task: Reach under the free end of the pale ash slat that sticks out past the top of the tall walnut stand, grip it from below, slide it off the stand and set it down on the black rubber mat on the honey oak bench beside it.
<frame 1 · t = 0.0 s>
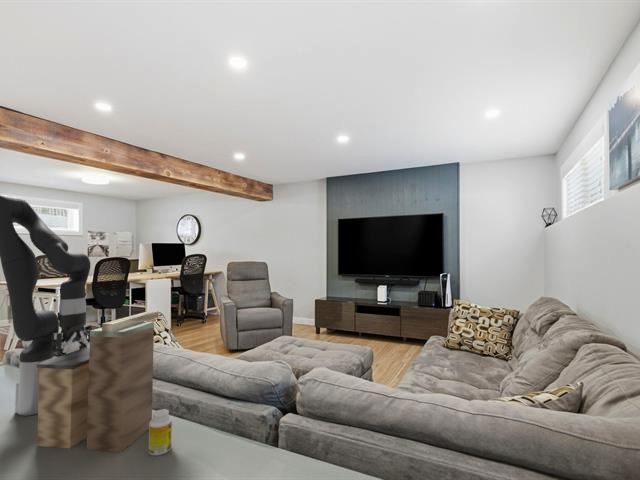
hand: (72, 360, 118), 17 cm above the table, tool pointing down, fingers open, 8 cm apart
slat: (132, 323, 107), point 32 cm above the table, touching walnut stand
supplement bottle: (160, 451, 95), on the table
walnut stand: (121, 437, 101), on the table
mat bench: (76, 432, 104), on the table
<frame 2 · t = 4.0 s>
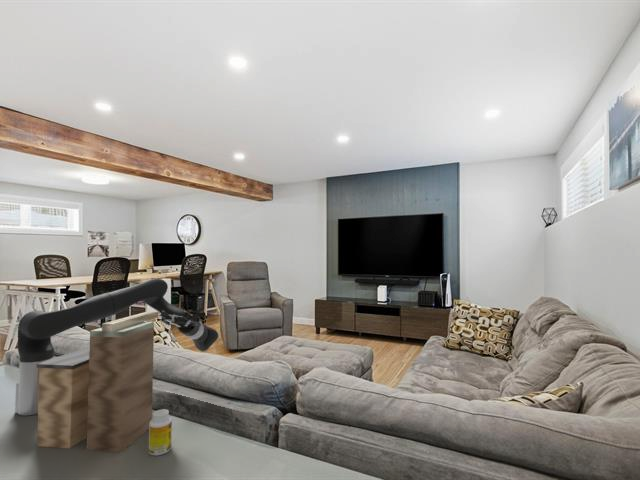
hand: (173, 313, 130), 31 cm above the table, tool pointing upward, fingers open, 8 cm apart
nothing on the table moved.
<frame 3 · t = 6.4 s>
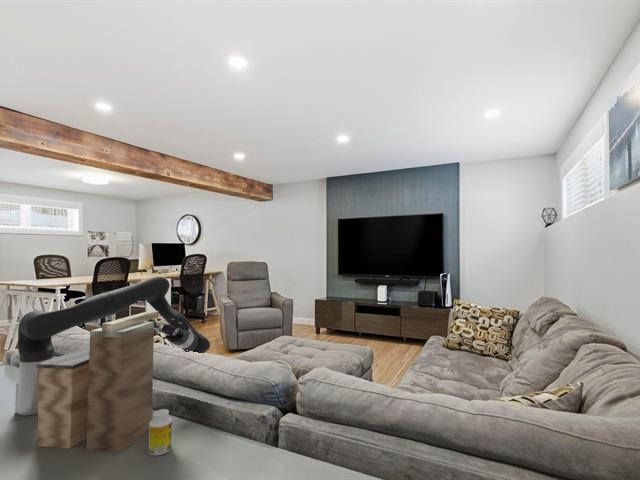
hand: (160, 321, 121), 30 cm above the table, tool pointing upward, fingers open, 8 cm apart
nothing on the table moved.
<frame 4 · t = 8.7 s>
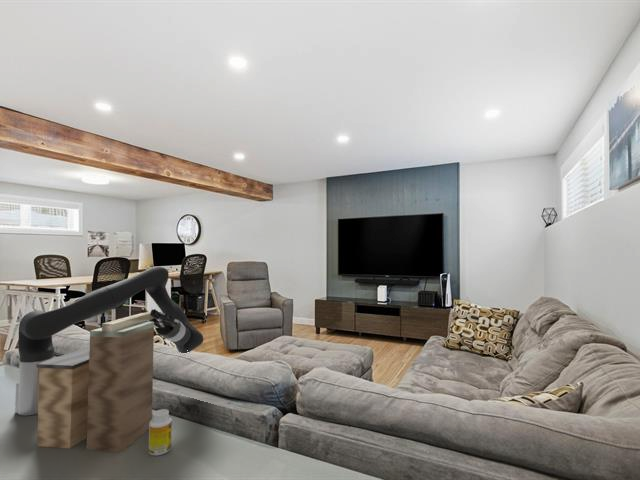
hand: (147, 311, 114), 34 cm above the table, tool pointing upward, fingers closed on slat, 3 cm apart
slat: (132, 323, 107), point 32 cm above the table, touching gripper, walnut stand
everything else where it was.
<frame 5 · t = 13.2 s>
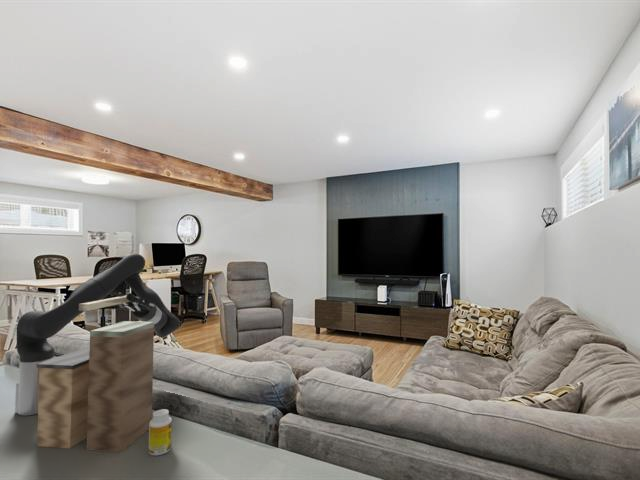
hand: (123, 295, 125), 38 cm above the table, tool pointing upward, fingers closed on slat, 3 cm apart
slat: (109, 305, 118), point 36 cm above the table, touching gripper
everything else where it was.
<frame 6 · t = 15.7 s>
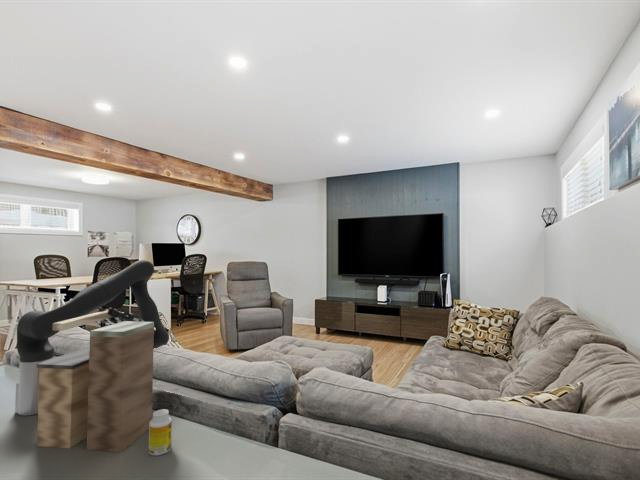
hand: (104, 310, 115), 34 cm above the table, tool pointing upward, fingers closed on slat, 3 cm apart
slat: (87, 322, 108), point 32 cm above the table, touching gripper
everything else where it was.
when the fingers open (26 cm above the table, at t = 17.7 s): slat drops 1 cm, resting on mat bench.
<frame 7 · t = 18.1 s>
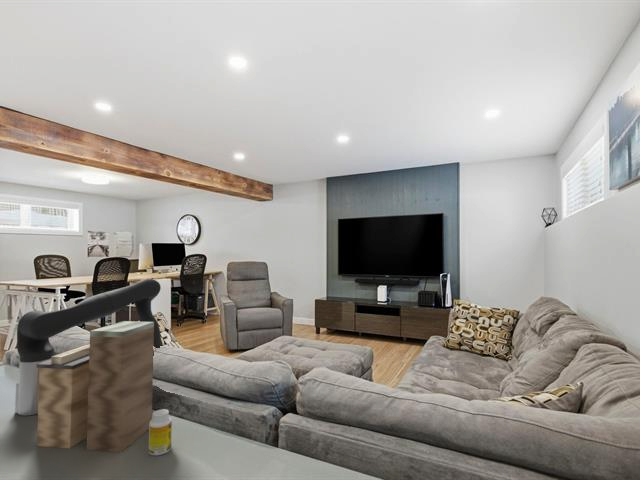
hand: (104, 335, 116), 26 cm above the table, tool pointing upward, fingers open, 6 cm apart
slat: (87, 353, 108), point 22 cm above the table, touching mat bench
everything else where it was.
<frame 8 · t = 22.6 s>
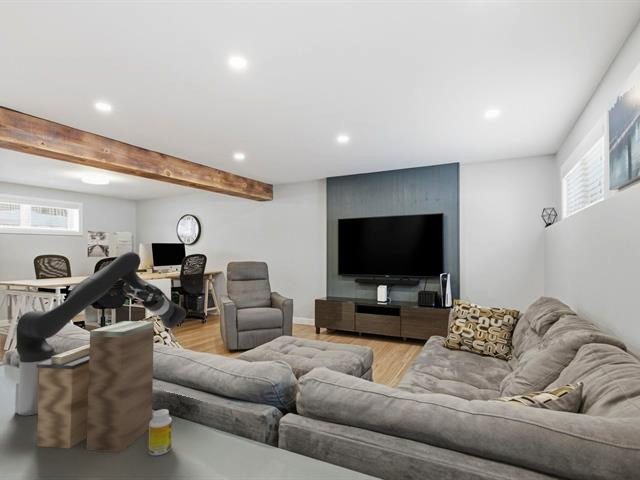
hand: (134, 286, 131), 41 cm above the table, tool pointing upward, fingers open, 8 cm apart
nothing on the table moved.
at the end: slat inside the target area on the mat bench (0.6 cm from its centre), point 22.5 cm above the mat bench's base; the gripper is holding nothing; slat tilted 0° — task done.
